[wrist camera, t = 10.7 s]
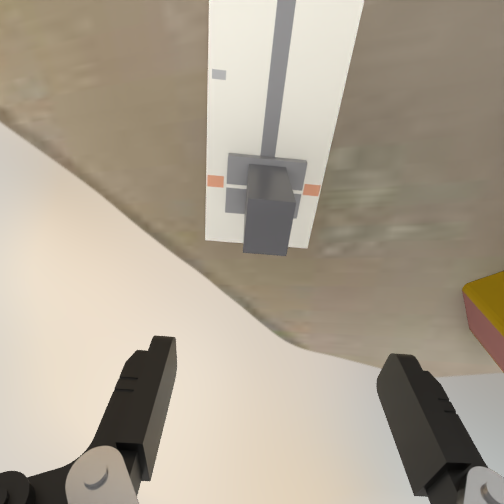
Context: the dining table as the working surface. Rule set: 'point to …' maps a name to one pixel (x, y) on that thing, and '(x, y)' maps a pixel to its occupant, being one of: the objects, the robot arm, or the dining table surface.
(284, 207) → the fader tab
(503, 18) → the dining table surface
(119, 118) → the dining table surface
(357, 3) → the fader console
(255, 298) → the dining table surface
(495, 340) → the lunch box
